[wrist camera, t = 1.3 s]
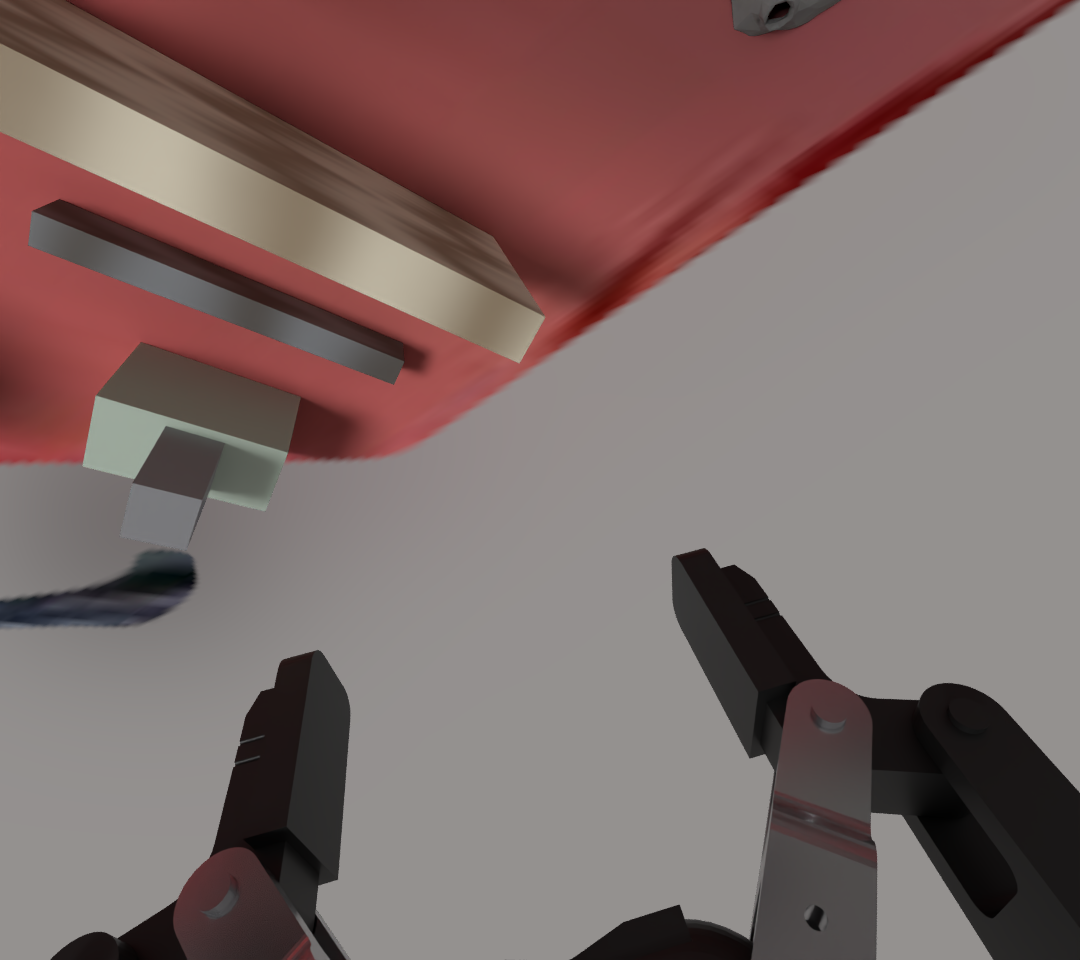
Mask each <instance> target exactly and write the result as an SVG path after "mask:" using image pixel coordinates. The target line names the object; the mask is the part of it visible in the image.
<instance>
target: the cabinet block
mask: <svg viewBox="0 0 1080 960" xmlns="http://www.w3.org/2000/svg"><path fill="white" fill-rule="evenodd" d="M300 399H301V397H299V396H296V395H294V394H291V393H288V392H285V391H282V390H279V389H276V388H273V387H270V386H267V385H264V384H262V383H259V382H256V381H253V380H250V379H247V378H244V377H241V376H238V375H235V374H232V373H230V372H227V371H224V370H221V369H218V368H215V367H212V366H209V365H206V364H203V363H200V362H197V361H195V360H192V359H189V358H186V357H183V356H180V355H177V354H174V353H171V352H168V351H165V350H163V349H160V348H157V347H154V346H151V345H148V344H145V343H142V342H141V343H140V344H139V345H138V346H137V348H136V349H135V350H134V351H133V352H132V353H131V355H130V356H129V357H128V358H127V359H126V361H125V362H124V363H123V364H122V365H121V366H120V368H119V369H118V370H117V371H116V372H115V374H114V375H113V376H112V377H111V378H110V380H109V381H108V382H107V383H106V384H105V385H104V387H103V388H102V389H101V390H100V391H99V393H98V394H97V395H96V398H95V403H94V408H93V413H92V419H91V424H90V429H89V435H88V440H87V445H86V451H85V456H84V461H83V467H87V468H91V469H95V470H99V471H103V472H108V473H111V474H116V475H120V476H124V477H127V478H132V479H134V481H133V483H132V487H131V491H130V495H129V499H128V503H127V508H126V511H125V516H124V520H123V524H122V528H121V533H120V537H122V538H127V539H132V540H137V541H142V542H146V543H151V544H157V545H161V546H166V547H171V548H176V549H181V550H185V551H186V550H187V547H188V545H189V542H190V540H191V537H192V535H193V532H194V530H195V527H196V524H197V522H198V520H199V517H200V514H201V512H202V509H203V507H204V504H205V502H206V499H207V497H208V498H213V499H216V500H221V501H224V502H229V503H233V504H237V505H241V506H245V507H249V508H253V509H257V510H261V511H266V508H267V506H268V503H269V501H270V498H271V496H272V493H273V490H274V488H275V485H276V483H277V480H278V477H279V475H280V472H281V470H282V467H283V464H284V462H285V459H286V457H287V454H288V451H289V446H290V442H291V438H292V433H293V429H294V425H295V420H296V416H297V412H298V408H299V403H300Z"/></svg>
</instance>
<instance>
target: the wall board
mask: <svg viewBox="0 0 1080 960" xmlns="http://www.w3.org/2000/svg"><path fill="white" fill-rule="evenodd" d="M0 132H2V133H4V134H6V135H9V136H11V137H13V138H15V139H18V140H20V141H22V142H24V143H27V144H29V145H31V146H33V147H35V148H38V149H40V150H42V151H44V152H47V153H49V154H51V155H53V156H56V157H58V158H60V159H62V160H65V161H67V162H69V163H71V164H74V165H76V166H78V167H80V168H83V169H85V170H87V171H89V172H92V173H94V174H96V175H98V176H100V177H103V178H105V179H107V180H109V181H112V182H114V183H116V184H118V185H121V186H123V187H125V188H127V189H130V190H132V191H134V192H136V193H139V194H141V195H143V196H145V197H148V198H150V199H152V200H154V201H157V202H159V203H161V204H163V205H165V206H168V207H170V208H172V209H174V210H177V211H179V212H181V213H183V214H186V215H188V216H190V217H192V218H195V219H197V220H199V221H201V222H204V223H206V224H208V225H210V226H213V227H215V228H217V229H219V230H222V231H224V232H226V233H228V234H231V235H233V236H235V237H237V238H239V239H242V240H244V241H246V242H248V243H251V244H253V245H255V246H257V247H260V248H262V249H264V250H266V251H269V252H271V253H273V254H275V255H278V256H280V257H282V258H284V259H287V260H289V261H291V262H293V263H296V264H298V265H300V266H302V267H304V268H307V269H309V270H311V271H313V272H316V273H318V274H320V275H322V276H325V277H327V278H329V279H331V280H334V281H336V282H338V283H340V284H343V285H345V286H347V287H349V288H352V289H354V290H356V291H358V292H361V293H363V294H365V295H367V296H369V297H372V298H374V299H376V300H378V301H381V302H383V303H385V304H387V305H390V306H392V307H394V308H396V309H399V310H401V311H403V312H405V313H408V314H410V315H412V316H414V317H417V318H419V319H421V320H423V321H426V322H428V323H430V324H432V325H435V326H437V327H439V328H441V329H443V330H446V331H448V332H450V333H452V334H455V335H457V336H459V337H461V338H464V339H466V340H468V341H470V342H473V343H475V344H477V345H479V346H482V347H484V348H486V349H488V350H491V351H493V352H495V353H497V354H500V355H502V356H504V357H506V358H508V359H511V360H513V361H515V362H517V363H520V361H521V360H522V358H523V356H524V354H525V353H526V351H527V349H528V347H529V345H530V344H531V342H532V340H533V338H534V336H535V335H536V333H537V331H538V329H539V328H540V326H541V324H542V322H543V320H544V319H545V316H544V314H543V313H542V311H541V309H540V308H539V306H538V305H537V303H536V302H535V300H534V299H533V297H532V296H531V294H530V293H529V291H528V289H527V288H526V286H525V285H524V283H523V282H522V280H521V279H520V277H519V276H518V274H517V273H516V271H515V269H514V268H513V266H512V265H511V263H510V262H509V260H508V259H507V257H506V256H505V254H504V253H503V251H502V249H501V248H500V246H499V245H498V243H497V242H496V240H495V239H494V237H493V236H491V235H489V234H487V233H486V232H484V231H482V230H480V229H478V228H476V227H475V226H473V225H471V224H469V223H467V222H466V221H464V220H462V219H460V218H458V217H457V216H455V215H453V214H451V213H449V212H448V211H446V210H444V209H442V208H440V207H438V206H437V205H435V204H433V203H431V202H429V201H428V200H426V199H424V198H422V197H420V196H419V195H417V194H415V193H413V192H411V191H409V190H408V189H406V188H404V187H402V186H400V185H399V184H397V183H395V182H393V181H391V180H390V179H388V178H386V177H384V176H382V175H380V174H379V173H377V172H375V171H373V170H371V169H370V168H368V167H366V166H364V165H362V164H361V163H359V162H357V161H355V160H353V159H351V158H350V157H348V156H346V155H344V154H342V153H341V152H339V151H337V150H335V149H333V148H332V147H330V146H328V145H326V144H324V143H323V142H321V141H319V140H317V139H315V138H313V137H312V136H310V135H308V134H306V133H304V132H303V131H301V130H299V129H297V128H295V127H294V126H292V125H290V124H288V123H286V122H284V121H283V120H281V119H279V118H277V117H275V116H274V115H272V114H270V113H268V112H266V111H265V110H263V109H261V108H259V107H257V106H255V105H254V104H252V103H250V102H248V101H246V100H245V99H243V98H241V97H239V96H237V95H236V94H234V93H232V92H230V91H228V90H226V89H225V88H223V87H221V86H219V85H217V84H216V83H214V82H212V81H210V80H208V79H207V78H205V77H203V76H201V75H199V74H197V73H196V72H194V71H192V70H190V69H188V68H187V67H185V66H183V65H181V64H179V63H178V62H176V61H174V60H172V59H170V58H169V57H167V56H165V55H163V54H161V53H159V52H158V51H156V50H154V49H152V48H150V47H149V46H147V45H145V44H143V43H141V42H140V41H138V40H136V39H134V38H132V37H130V36H129V35H127V34H125V33H123V32H121V31H120V30H118V29H116V28H114V27H112V26H111V25H109V24H107V23H105V22H103V21H101V20H100V19H98V18H96V17H94V16H92V15H91V14H89V13H87V12H85V11H83V10H82V9H80V8H78V7H76V6H74V5H72V4H71V3H69V2H67V1H65V0H0ZM28 246H31V247H33V248H36V249H39V250H41V251H44V252H47V253H49V254H52V255H54V256H57V257H60V258H62V259H65V260H68V261H70V262H73V263H75V264H78V265H81V266H83V267H86V268H89V269H91V270H94V271H96V272H99V273H102V274H104V275H107V276H110V277H112V278H115V279H118V280H120V281H123V282H125V283H128V284H131V285H133V286H136V287H139V288H141V289H144V290H146V291H149V292H152V293H154V294H157V295H160V296H162V297H165V298H167V299H170V300H173V301H175V302H178V303H181V304H183V305H186V306H188V307H191V308H194V309H196V310H199V311H202V312H204V313H207V314H209V315H212V316H215V317H217V318H220V319H223V320H225V321H228V322H230V323H233V324H236V325H238V326H241V327H244V328H246V329H249V330H251V331H254V332H257V333H259V334H262V335H265V336H267V337H270V338H272V339H275V340H278V341H280V342H283V343H286V344H288V345H291V346H293V347H296V348H299V349H301V350H304V351H307V352H309V353H312V354H314V355H317V356H320V357H322V358H325V359H328V360H330V361H333V362H335V363H338V364H341V365H343V366H346V367H349V368H351V369H354V370H356V371H359V372H362V373H364V374H367V375H370V376H372V377H375V378H377V379H380V380H383V381H385V382H388V383H391V384H393V385H394V383H395V381H396V379H397V377H398V375H399V372H400V370H401V368H402V366H403V364H404V350H403V343H401V342H399V341H396V340H394V339H391V338H389V337H387V336H384V335H382V334H379V333H377V332H375V331H372V330H370V329H368V328H365V327H363V326H360V325H358V324H356V323H353V322H351V321H348V320H346V319H344V318H341V317H339V316H337V315H334V314H332V313H329V312H327V311H325V310H322V309H320V308H317V307H315V306H313V305H310V304H308V303H305V302H303V301H301V300H298V299H296V298H294V297H291V296H289V295H286V294H284V293H282V292H279V291H277V290H274V289H272V288H270V287H267V286H265V285H263V284H260V283H258V282H255V281H253V280H251V279H248V278H246V277H243V276H241V275H239V274H236V273H234V272H231V271H229V270H227V269H224V268H222V267H220V266H217V265H215V264H212V263H210V262H208V261H205V260H203V259H200V258H198V257H196V256H193V255H191V254H189V253H186V252H184V251H181V250H179V249H177V248H174V247H172V246H169V245H167V244H165V243H162V242H160V241H157V240H155V239H153V238H150V237H148V236H146V235H143V234H141V233H138V232H136V231H134V230H131V229H129V228H126V227H124V226H122V225H119V224H117V223H115V222H112V221H110V220H107V219H105V218H103V217H100V216H98V215H95V214H93V213H91V212H88V211H86V210H83V209H81V208H79V207H76V206H74V205H72V204H69V203H67V202H64V201H62V200H60V199H59V200H56V201H54V202H52V203H49V204H47V205H45V206H43V207H40V208H38V209H36V210H33V211H32V216H31V225H30V234H29V243H28Z"/></svg>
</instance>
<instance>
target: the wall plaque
mask: <svg viewBox="0 0 1080 960" xmlns="http://www.w3.org/2000/svg"><path fill="white" fill-rule="evenodd" d="M731 1H732V15H733V24H734V29H735V30H738V31H740V32H743V33H745V34H747V35H749V36H758V35H761V34H765V33H768V32H771V31H774V30H789V29H792V28H796V27H798V26H801V25H803V24H805V23H807V22H809V21H810V20H811V19H813V18H814V17H815V16H817V15H818V14H820V13H821V12H823V11H825V10H826V9H828V8H830V7H831V6H833V5H834V4H836V3H837V2H839V1H840V0H731ZM786 1H787V2H788V4H789V5H790V9H789V12H788V13H787V14H786V15H785V16H784V17H780V18H775V19H770V20H769V19H768V15H769V12H770V11H771V10H772V9H773V7H774V6H775V5H776V4H780V3H783V2H786Z"/></svg>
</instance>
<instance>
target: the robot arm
mask: <svg viewBox="0 0 1080 960" xmlns="http://www.w3.org/2000/svg"><path fill="white" fill-rule="evenodd" d="M672 590H673V591H672V592H673V593H672V595H673V606H674V611H675V614H676V617H677V620H678V623H679V625H680V627H681V629H682V631H683V633H684V634H685V637H686V639H687V640H688V642H689V644H690V646H691V648H692V650H693V652H694V654H695V656H696V657H697V659H698V661H699V663H700V665H701V667H702V669H703V671H704V673H705V675H706V676H707V678H708V680H709V682H710V684H711V686H712V688H713V690H714V692H715V693H716V695H717V697H718V699H719V701H720V703H721V705H722V707H723V709H724V711H725V712H726V714H727V716H728V718H729V720H730V722H731V724H732V726H733V728H734V730H735V731H736V733H737V735H738V737H739V739H740V741H741V743H742V745H743V746H744V749H745V750H746V752H747V754H748V756H749V758H753V757H756V756H760V755H763V754H766V756H767V758H768V760H769V762H770V763H771V765H772V767H773V769H774V776H773V784H772V790H771V797H770V804H769V811H768V818H767V824H766V831H765V838H764V845H763V852H762V859H761V866H760V872H759V879H758V884H757V892H756V897H755V903H754V910H753V917H752V924H751V931H750V937H749V939H747V938H746V937H744V936H742V935H740V934H739V933H736V932H734V931H732V930H730V929H728V928H726V927H723V926H720V925H717V924H714V923H711V922H705V921H701V920H690V919H684V916H683V913H682V910H681V907H680V905H677V906H673V907H670V908H667V909H664V910H661V911H657V912H654V913H651V914H648V915H645V916H642V917H639V918H635V919H632V920H629V921H626V922H623V923H622V924H620V925H619V926H618V927H616V928H615V929H613V930H612V931H611V932H609V933H608V934H606V935H605V936H604V937H602V938H601V939H599V940H598V941H597V942H595V943H594V944H592V945H591V946H590V947H588V948H587V949H585V950H584V951H583V952H581V953H580V954H578V955H577V956H576V957H574V958H573V959H571V960H876V934H877V933H876V932H877V851H876V846H875V842H874V841H873V840H872V838H871V829H870V828H871V827H870V826H871V823H870V822H871V812H872V813H885V814H886V813H887V814H898V815H902V816H903V817H904V819H905V820H906V822H907V824H908V825H909V827H910V828H911V830H912V831H913V833H914V835H915V836H916V838H917V839H918V841H919V843H920V844H921V846H922V847H923V849H924V850H925V852H926V853H927V855H928V857H929V858H930V860H931V862H932V863H933V865H934V866H935V868H936V869H937V871H938V873H939V874H940V876H941V877H942V879H943V881H944V882H945V884H946V885H947V887H948V888H949V890H950V891H951V893H952V895H953V896H954V898H955V900H956V901H957V902H958V904H959V906H960V907H961V909H962V910H963V912H964V914H965V915H966V917H967V918H968V920H969V921H970V923H971V925H972V926H973V928H974V930H975V931H976V933H977V934H978V936H979V937H980V939H981V940H982V942H983V944H984V945H985V947H986V949H987V950H988V952H989V953H990V955H991V956H992V958H993V960H1080V793H1079V791H1078V790H1077V789H1076V788H1075V787H1074V786H1073V785H1072V784H1071V783H1070V782H1069V780H1068V779H1067V778H1066V777H1065V776H1064V775H1063V774H1062V773H1061V772H1060V770H1059V769H1058V768H1057V767H1056V766H1055V765H1054V764H1053V763H1052V762H1051V761H1050V759H1049V758H1048V757H1047V756H1046V755H1045V754H1044V753H1043V752H1042V750H1041V749H1040V748H1039V747H1038V746H1037V745H1036V744H1035V743H1034V742H1033V740H1032V739H1030V737H1029V736H1028V735H1027V734H1026V733H1025V732H1024V731H1023V729H1022V728H1021V727H1020V726H1019V725H1018V724H1017V723H1016V722H1015V721H1014V719H1013V718H1012V717H1011V716H1010V715H1009V714H1008V713H1007V712H1006V711H1005V710H1004V709H1003V708H1002V707H1001V706H1000V705H999V704H998V703H997V702H996V701H994V700H993V699H992V698H990V697H988V696H987V695H986V694H984V693H982V692H980V691H978V690H976V689H973V688H971V687H968V686H963V685H960V684H953V683H943V684H937V685H934V686H931V687H930V688H928V689H927V690H926V691H924V693H923V694H922V696H921V698H920V700H899V699H898V700H897V699H876V698H868V697H863V696H860V695H857V694H855V693H854V692H853V691H851V690H850V689H848V688H846V687H845V686H843V685H841V684H839V683H836V682H833V681H832V680H831V679H830V678H829V677H828V676H826V674H825V673H824V672H823V671H822V670H821V668H820V667H819V666H818V664H817V663H816V661H815V660H814V659H813V657H812V656H811V655H810V653H809V652H808V650H807V649H806V648H805V646H804V645H803V644H802V642H801V641H800V640H799V638H798V637H797V636H796V634H795V633H794V632H793V630H792V629H791V627H790V626H789V625H788V623H787V622H786V620H785V619H784V618H783V617H782V616H780V614H779V611H778V610H777V608H776V607H775V605H774V604H773V603H772V601H771V600H770V601H769V599H768V596H767V595H766V593H765V592H764V590H763V589H762V588H761V586H760V585H759V584H758V582H757V581H756V580H755V578H753V577H752V576H750V575H749V574H747V573H746V572H744V571H743V570H741V569H740V568H738V567H737V566H735V565H731V566H727V567H724V568H720V567H719V566H718V564H717V563H716V561H715V560H714V558H713V557H712V555H711V554H710V552H709V551H708V550H706V549H705V548H703V549H699V550H695V551H692V552H688V553H684V554H680V555H677V556H673V558H672ZM349 728H350V705H349V700H348V696H347V693H346V691H345V689H344V687H343V685H342V684H341V682H340V681H339V679H338V677H337V676H336V674H335V672H334V671H333V669H332V668H331V666H330V664H329V663H328V661H327V659H326V658H325V656H324V655H323V653H322V652H321V651H319V650H317V651H313V652H309V653H305V654H302V655H298V656H294V657H290V658H287V659H284V660H282V661H281V663H280V665H279V668H278V672H277V677H276V682H275V687H274V688H272V689H269V690H265V691H261V692H260V694H259V696H258V697H257V699H256V701H255V702H254V704H253V705H252V707H251V709H250V710H249V712H248V713H247V715H246V717H245V721H244V726H243V730H242V734H241V738H240V746H238V750H237V755H236V758H235V767H233V771H232V775H231V779H230V784H229V787H228V791H227V795H226V799H225V803H224V807H223V811H222V816H221V820H220V824H219V828H218V832H217V836H216V840H215V844H214V847H213V851H212V853H211V855H210V858H209V859H208V860H207V861H205V862H204V863H203V864H202V865H201V866H200V867H199V868H198V869H197V870H196V871H195V872H194V873H193V874H192V876H191V877H190V878H189V879H188V881H187V883H186V884H185V886H184V887H183V889H182V891H181V893H180V895H179V898H178V899H177V900H176V901H174V902H173V903H172V904H170V905H169V906H167V907H166V908H164V909H163V910H161V911H160V912H158V913H157V914H155V915H153V916H152V917H150V918H149V919H147V920H146V921H144V922H142V923H141V924H139V925H138V926H136V927H135V928H133V929H132V930H130V931H128V932H127V933H125V934H124V935H122V936H120V937H119V938H115V937H113V936H111V935H109V934H107V933H104V932H93V933H89V934H86V935H84V936H82V937H79V938H77V939H76V940H74V941H73V942H71V943H69V944H68V945H66V946H65V947H64V948H62V949H61V950H60V951H59V952H58V953H57V954H56V955H55V956H53V957H52V959H51V960H350V958H349V956H348V955H347V954H346V952H345V951H344V950H343V948H342V946H341V945H340V944H339V942H338V940H337V939H336V937H335V936H334V934H333V933H332V932H331V930H330V929H329V927H328V926H327V924H326V923H325V921H324V920H323V918H322V917H321V915H320V914H319V912H318V911H317V910H316V901H317V891H318V885H322V884H325V883H328V882H331V881H334V880H338V870H339V858H340V844H341V832H342V819H343V805H344V793H345V780H346V767H347V754H348V739H349Z"/></svg>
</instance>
